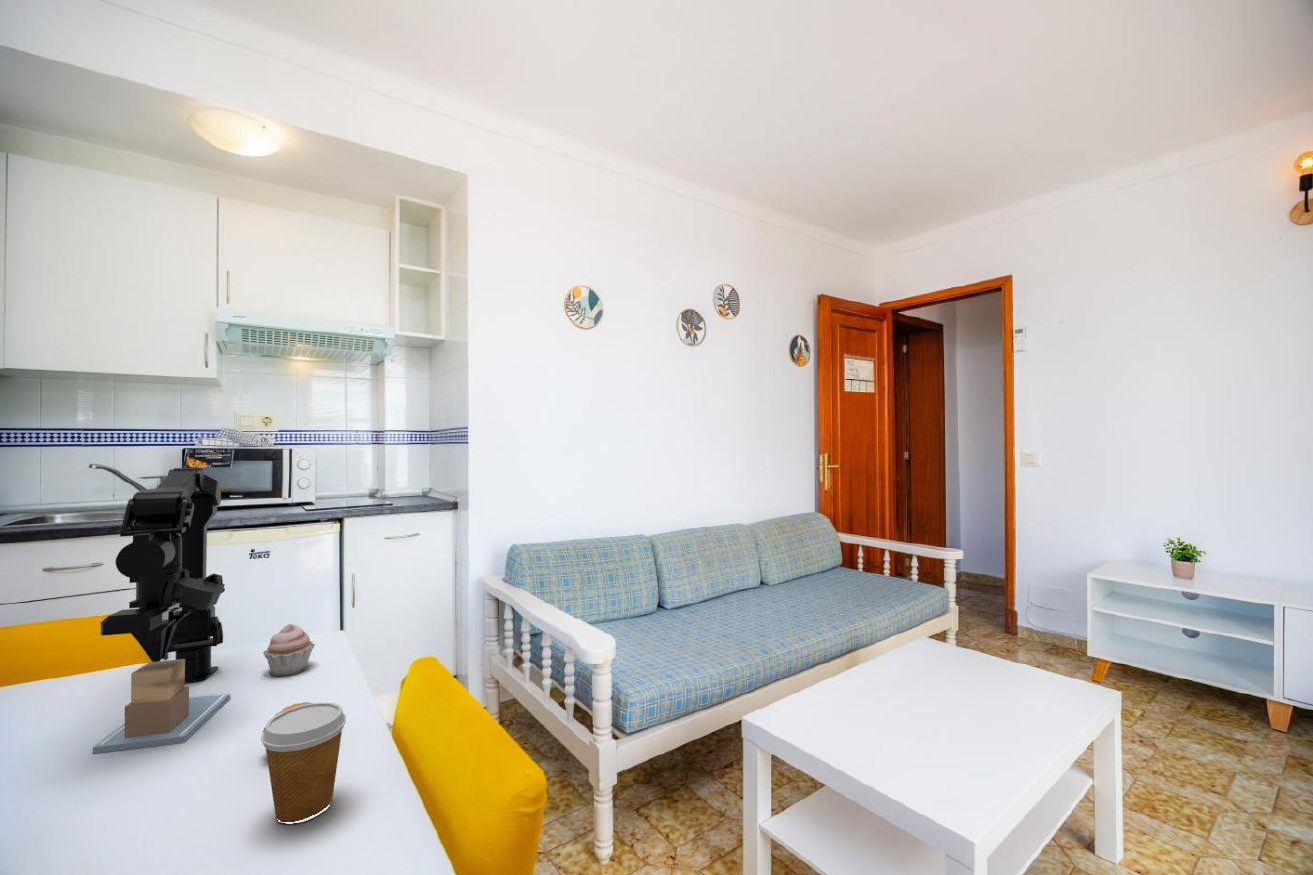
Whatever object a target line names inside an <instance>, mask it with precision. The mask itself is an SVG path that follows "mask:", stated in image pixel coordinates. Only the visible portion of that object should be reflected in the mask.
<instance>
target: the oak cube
mask: <svg viewBox="0 0 1313 875" xmlns="http://www.w3.org/2000/svg"><path fill="white" fill-rule="evenodd" d="M130 674H131V678H130V680H131V681H130V682H131V683H130V686H131V687H130V703H131V705H133V704H143V703H152V702H162V701H169V700H170V699H171V698H172V697H174V696H175V695H176V694H178V693H179V692H180V691H181V690H183V689H184V688H185V687H186V682H185V659H178V660H175V659H169V660H160V661H159V662H152V661H150V662H148V663H146V664H145V665H142V666H141V667H140V668H138V669H136V670H135V671H133V672H131V673H130Z"/></svg>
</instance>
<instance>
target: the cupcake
mask: <svg viewBox="0 0 1313 875" xmlns="http://www.w3.org/2000/svg"><path fill="white" fill-rule="evenodd" d="M315 646H316V643H313V641H311V638H310V636H309V635H308V633H307V632H305V630H303V629H302V628H301V627H300V626H299V625H297V624H293V623H288V624H287V625H285V626H284V627H283V628H282V629H281V630H280V631H279V632H278V633H276V634H275V633H274V634H273V635H272V636H271V638H270V642H269V644H268V646H267V647H266V650H263V652H262V653H263V655H264V657H265V659H266V660H267V663H268V666H269V667H268V668H269V671H270V674H271V675H272V676H275V677H285V676H286V677H287V676H291V675H295V674H299V673H301V672H303V671H304V670H306V669H305V668H307V667H308V664H309V661H310V657H311V655H312V654H311V653H312V651H313V650H314V648H315Z"/></svg>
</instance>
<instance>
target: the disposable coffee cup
mask: <svg viewBox="0 0 1313 875" xmlns="http://www.w3.org/2000/svg"><path fill="white" fill-rule="evenodd" d="M311 703H312V704H306V705H301V706H298V707H294V708H292V709H289V710H286V711H283V712H281V713H279V714H277V713H276V714H277V715H276V714H275V715H276V716H275V715H274V716H273V717H271V718H270V719H269V720H268V721H267V722H266V725H265V726H264V728H265V730H264V729H263V730H264V732H263V731H262V733H261V735H260V741H261V742H262V745H263V747H264V748H265V753H266V761H267V765H268V766H267V767H268V773H269V779H270V787H271V793H272V800H273V807H274V814H275V819H276V818H277V819H278V820H280V821H281V822H295V821H299V820H303V819H305V818H308V817H310V816H312V815H315V814H317V813H319V812H320V811H322V810H323V809H324V808H326V807H327V806H328V805H329V804H330V802H331V801H332V802H333V798H334V789H335V783H336V776H337V775H336V774H337V770H338V762H339V755H340V754H339V753H340V747H341V740H342V734H343V729H344V727H345V725H346V722H347V715H346V714H345V713H344V712H343V708H342V706H341V705H339V704H338V703H335V702H311Z"/></svg>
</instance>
